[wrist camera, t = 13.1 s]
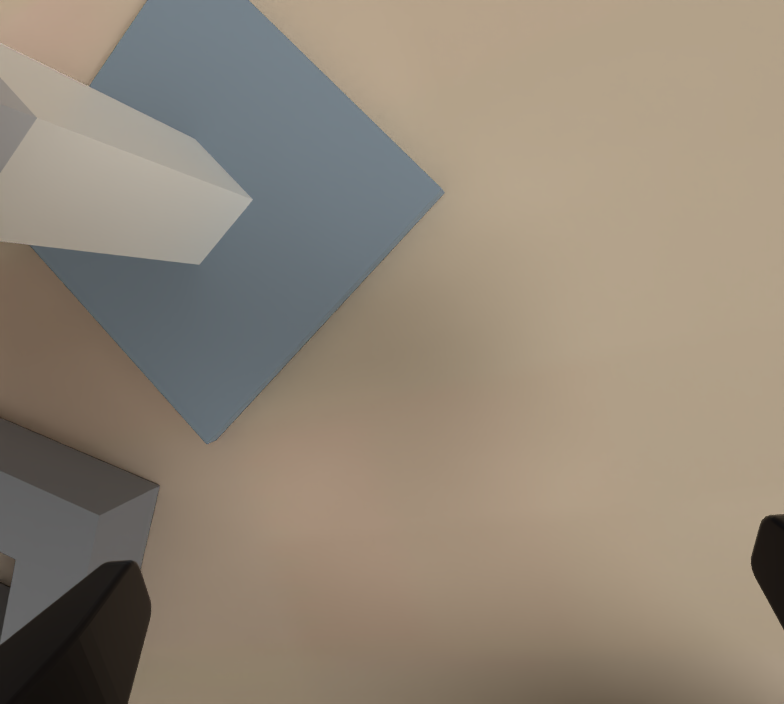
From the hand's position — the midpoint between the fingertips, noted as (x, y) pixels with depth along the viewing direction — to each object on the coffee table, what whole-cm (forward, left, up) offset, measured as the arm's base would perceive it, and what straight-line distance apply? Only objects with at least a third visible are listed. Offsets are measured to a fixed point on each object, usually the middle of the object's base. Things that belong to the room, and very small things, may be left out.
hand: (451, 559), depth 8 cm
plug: (+9, +9, -9) cm, 15 cm away
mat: (+9, +9, -10) cm, 16 cm away
